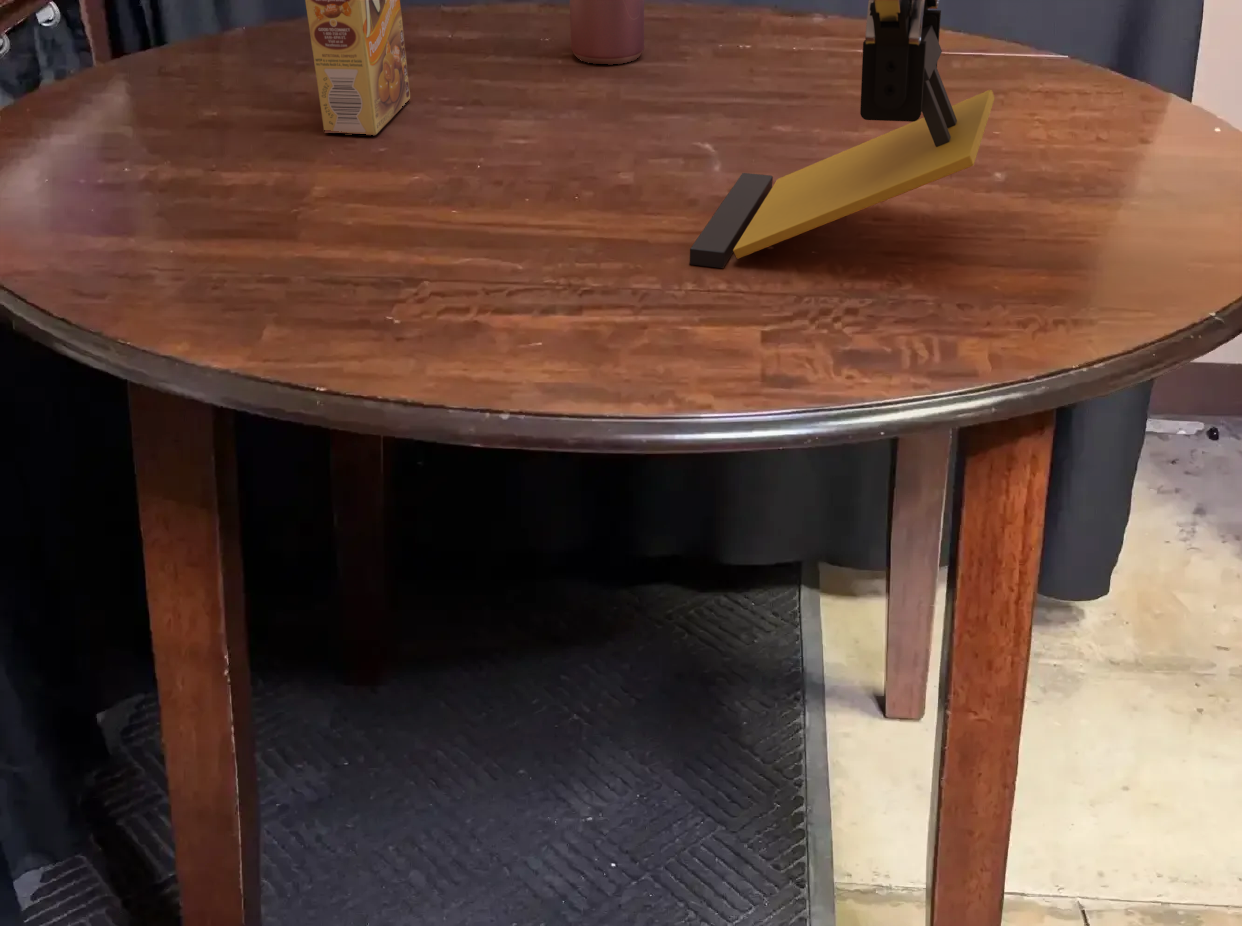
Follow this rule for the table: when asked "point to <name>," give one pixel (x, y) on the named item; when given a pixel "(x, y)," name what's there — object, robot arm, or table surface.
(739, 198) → the bar
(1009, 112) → the table surface
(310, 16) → the candy box
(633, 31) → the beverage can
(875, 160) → the sign
